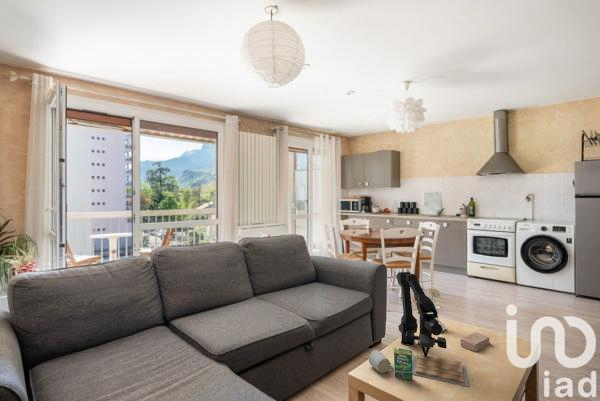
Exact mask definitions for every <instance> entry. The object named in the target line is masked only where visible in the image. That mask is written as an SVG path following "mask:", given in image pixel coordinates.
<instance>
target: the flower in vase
mask: <svg viewBox="0 0 600 401" xmlns="http://www.w3.org/2000/svg"><path fill="white" fill-rule="evenodd" d="M427 293H428V294H429V295H430V296H432V297H431V299H434V298H436V299H438V298H440V297H441V293H440V290H438V289H436V288H433V287H432V286H431V287H428V288H427ZM433 297H434V298H433ZM431 301H432V302H433V304H434V305H435V308H436V311H437V313H438V314H437V315H439V310H440V309H441V306H440V305H439V304H440V302H435V303H434V301H433V300H431ZM435 319H436V320H438V323H439V324H440V325H441V326H442V329H443V330H442V332H443V331H445V330H446V329H447V327H446V325H445V324H444V323H443V322H442V321H441V320H440V319H439V317H438V318H435Z"/></svg>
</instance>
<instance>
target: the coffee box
mask: <svg viewBox="0 0 600 401" xmlns="http://www.w3.org/2000/svg"><path fill="white" fill-rule="evenodd" d="M393 358H394V359H393V361H394V362H393V363H394V365H393V368H394V370H393V371H394V377H395V378H398V379H402V380H405V381H410V382H412V381H413V378H414V375H413V364H412V361H413V350H412V349H406V348H400V347H397V346H394V349H393Z"/></svg>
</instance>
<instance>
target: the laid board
mask: <svg viewBox="0 0 600 401" xmlns="http://www.w3.org/2000/svg"><path fill="white" fill-rule="evenodd" d="M416 373H417V374H421V375H426V376H431V377H435V378H440V379H445V380H449V381H454V382H458V383H463V384H464V379H463V373H462V372H457V371H452V370H447V369H442V368H437V367H432V366H427V365H422V364H417V363H416Z"/></svg>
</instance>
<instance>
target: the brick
mask: <svg viewBox="0 0 600 401" xmlns="http://www.w3.org/2000/svg"><path fill="white" fill-rule="evenodd" d="M459 340H460V341H459V344H460V346H461V347H463V348H464V349H467V350H469V351H471V352H478V351H480V350H482V349H483V348H485V347H486V346H488V345H490V343H491V342H490V337H489V336H488V335H486V334H483V333H480V332H476V331H474V332H473V333H470V334H468V335H466V336H463V337H461V338H460V339H459Z"/></svg>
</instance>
